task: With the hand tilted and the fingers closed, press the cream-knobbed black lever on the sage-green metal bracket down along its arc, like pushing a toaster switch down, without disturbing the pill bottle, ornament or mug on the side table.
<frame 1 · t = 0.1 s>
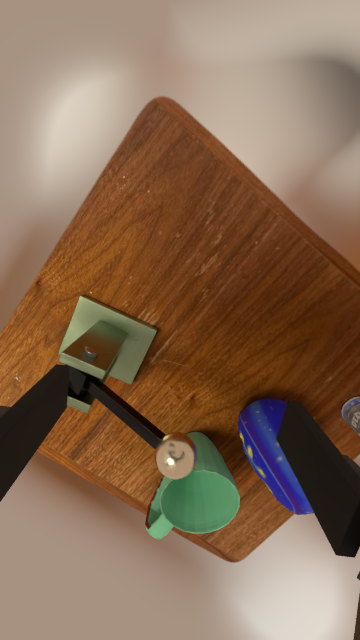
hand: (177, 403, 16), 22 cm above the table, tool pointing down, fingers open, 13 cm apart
bracket: (109, 339, 37), on the table
lever: (126, 413, 25), point 14 cm above the table, hinge at 28.0°
ornament: (263, 414, 41), on the table
mug: (184, 453, 43), on the table
pill bottle: (355, 408, 41), on the table
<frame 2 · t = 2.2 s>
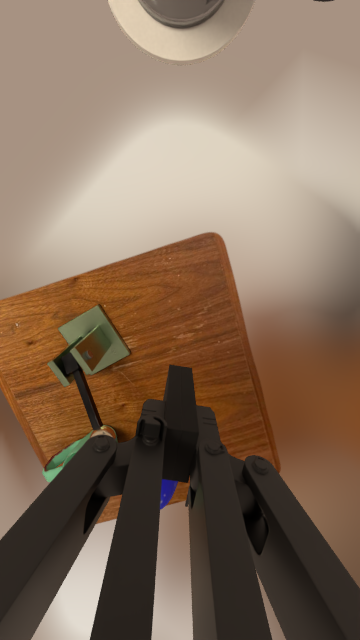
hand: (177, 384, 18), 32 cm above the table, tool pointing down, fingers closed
bracket: (96, 339, 51), on the table
lever: (88, 400, 39), point 14 cm above the table, hinge at 28.0°
ornament: (159, 440, 58), on the table
mug: (94, 436, 57), on the table
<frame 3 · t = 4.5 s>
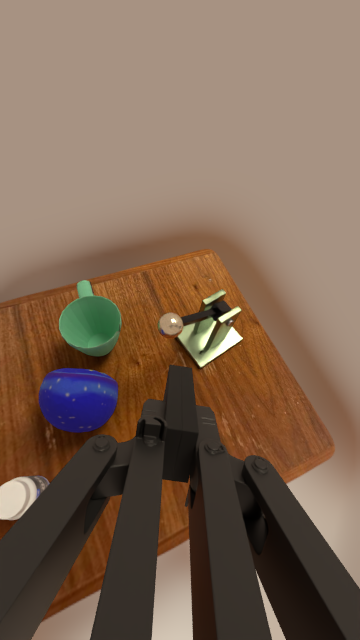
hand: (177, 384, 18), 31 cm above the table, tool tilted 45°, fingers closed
bracket: (207, 337, 55), on the table
lever: (196, 317, 41), point 14 cm above the table, hinge at 28.0°
ornament: (88, 407, 47), on the table
mug: (98, 334, 53), on the table
pill bottle: (35, 493, 40), on the table
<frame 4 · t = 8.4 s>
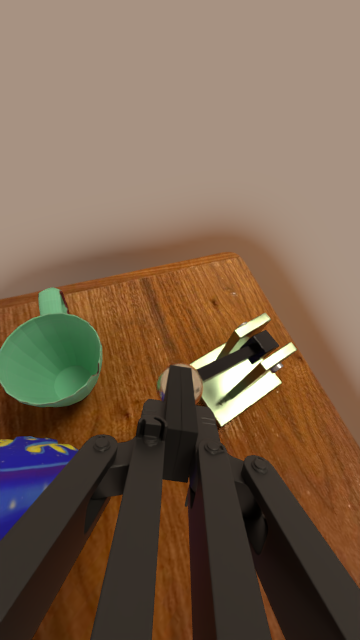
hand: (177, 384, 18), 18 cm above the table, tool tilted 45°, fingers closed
bracket: (230, 378, 38), on the table
lever: (224, 364, 24), point 14 cm above the table, hinge at 24.6°, touching gripper
ornament: (44, 488, 29), on the table
mug: (72, 366, 36), on the table
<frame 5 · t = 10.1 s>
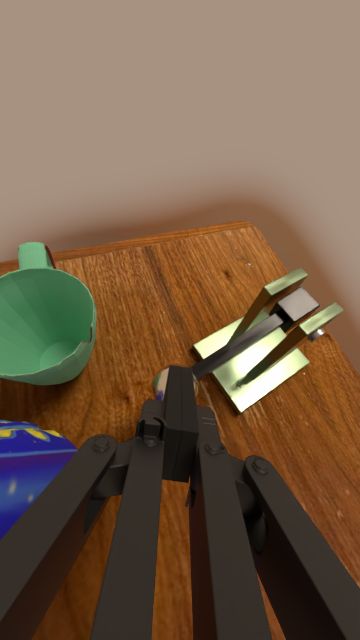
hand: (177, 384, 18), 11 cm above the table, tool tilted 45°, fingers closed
bracket: (248, 357, 32), on the table
lever: (235, 348, 22), point 10 cm above the table, hinge at -10.0°, touching gripper
ornament: (24, 486, 24), on the table
mug: (61, 342, 31), on the table
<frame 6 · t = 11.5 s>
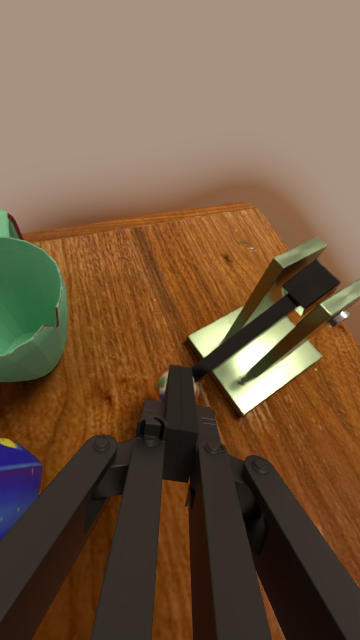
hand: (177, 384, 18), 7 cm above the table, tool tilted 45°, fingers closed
bracket: (252, 350, 28), on the table
lever: (237, 343, 20), point 8 cm above the table, hinge at -32.5°, touching gripper
mug: (34, 333, 26), on the table
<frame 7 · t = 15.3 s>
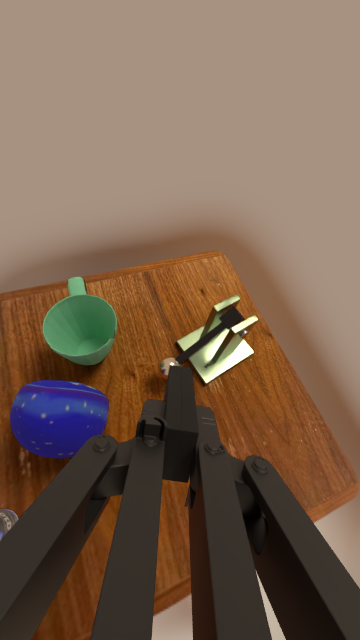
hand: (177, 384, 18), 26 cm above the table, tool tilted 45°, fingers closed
bracket: (214, 349, 49), on the table
lever: (199, 345, 40), point 8 cm above the table, hinge at -32.6°
ornament: (73, 425, 40), on the table
mug: (90, 339, 47), on the table
pill bottle: (0, 531, 33), on the table
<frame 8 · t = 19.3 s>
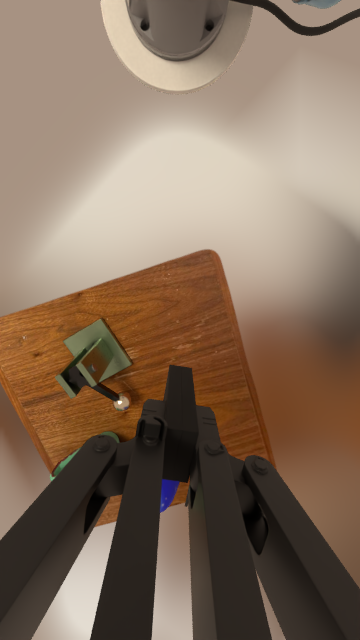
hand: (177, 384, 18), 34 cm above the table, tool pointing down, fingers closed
bracket: (99, 350, 54), on the table
lever: (103, 390, 48), point 8 cm above the table, hinge at -32.6°
ornament: (160, 445, 60), on the table
mug: (98, 442, 60), on the table
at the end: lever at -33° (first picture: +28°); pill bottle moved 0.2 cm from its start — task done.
